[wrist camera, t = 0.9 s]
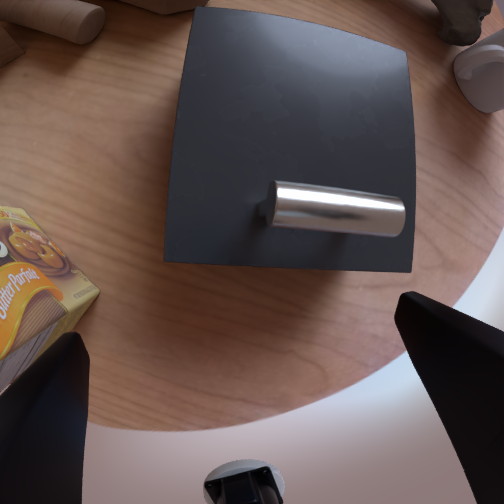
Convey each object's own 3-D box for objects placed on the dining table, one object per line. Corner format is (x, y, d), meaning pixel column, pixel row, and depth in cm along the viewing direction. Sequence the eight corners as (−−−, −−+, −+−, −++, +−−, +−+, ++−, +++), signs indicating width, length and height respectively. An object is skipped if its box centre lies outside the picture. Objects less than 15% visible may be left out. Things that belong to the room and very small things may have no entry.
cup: (500, 117, 25) (558, 100, 16) (446, 109, 24) (514, 81, 15) (482, 60, 25) (533, 35, 16) (424, 44, 23) (480, 5, 14)
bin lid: (403, 271, 17) (465, 284, 12) (164, 260, 14) (148, 274, 10) (399, 56, 16) (446, 21, 11) (194, 13, 14) (198, -47, 9)
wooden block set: (55, -77, 11) (224, -49, 14) (68, -43, 17) (217, -4, 20) (-76, 70, 11) (58, 144, 14) (-42, 91, 16) (90, 165, 19)
